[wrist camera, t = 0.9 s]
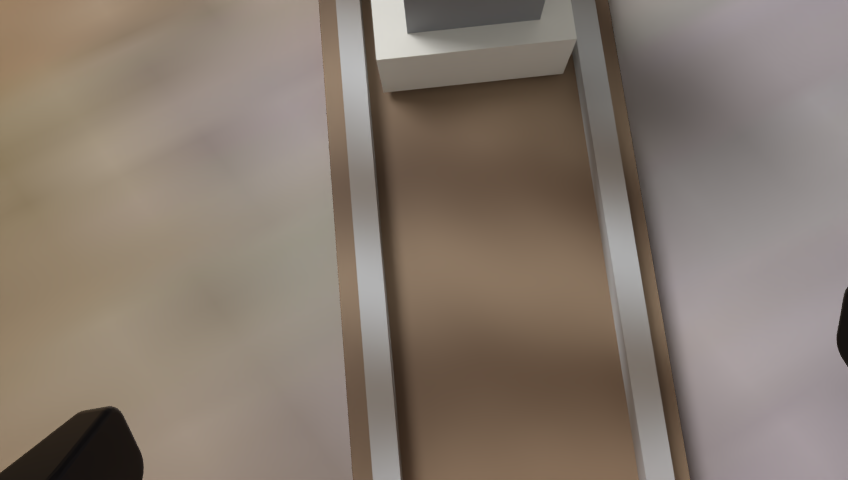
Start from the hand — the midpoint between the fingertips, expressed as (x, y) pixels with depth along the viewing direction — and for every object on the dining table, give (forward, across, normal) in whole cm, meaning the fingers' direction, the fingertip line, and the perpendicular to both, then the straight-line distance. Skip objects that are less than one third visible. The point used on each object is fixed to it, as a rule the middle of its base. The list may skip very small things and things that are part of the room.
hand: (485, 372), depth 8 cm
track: (+14, -2, +4) cm, 14 cm away
